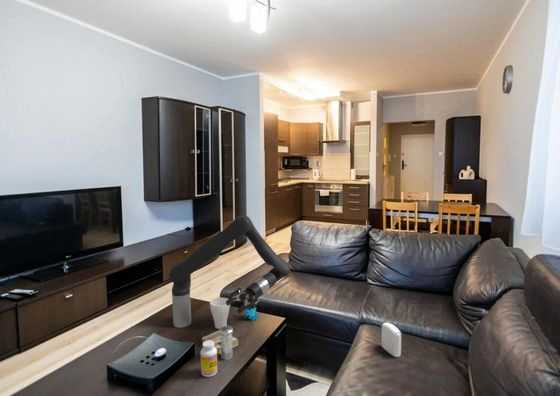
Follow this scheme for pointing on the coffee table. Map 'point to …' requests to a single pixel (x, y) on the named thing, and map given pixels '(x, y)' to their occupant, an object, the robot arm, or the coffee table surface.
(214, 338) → the jig
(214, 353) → the supplement bottle
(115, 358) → the coffee table surface
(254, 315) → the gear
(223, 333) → the salt shaker
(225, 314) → the cup
